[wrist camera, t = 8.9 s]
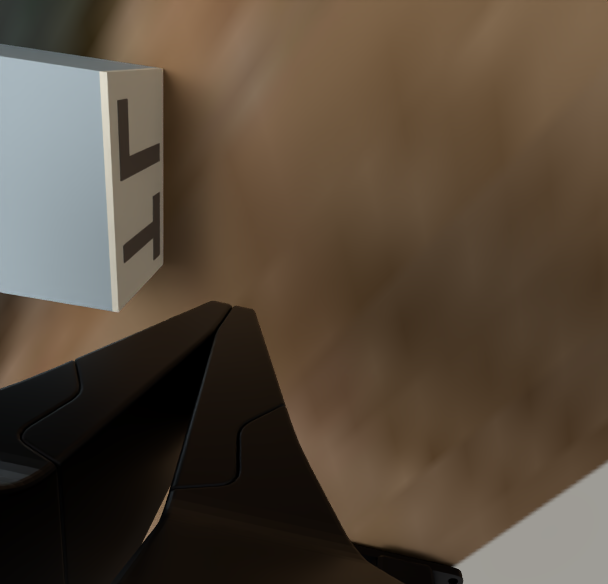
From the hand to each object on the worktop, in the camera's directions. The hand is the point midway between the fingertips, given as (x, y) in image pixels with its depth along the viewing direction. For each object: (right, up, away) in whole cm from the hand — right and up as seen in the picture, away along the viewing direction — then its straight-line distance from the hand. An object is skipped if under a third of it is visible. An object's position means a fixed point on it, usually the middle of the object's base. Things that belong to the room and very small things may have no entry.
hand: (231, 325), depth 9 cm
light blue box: (-4, +4, +6) cm, 8 cm away
